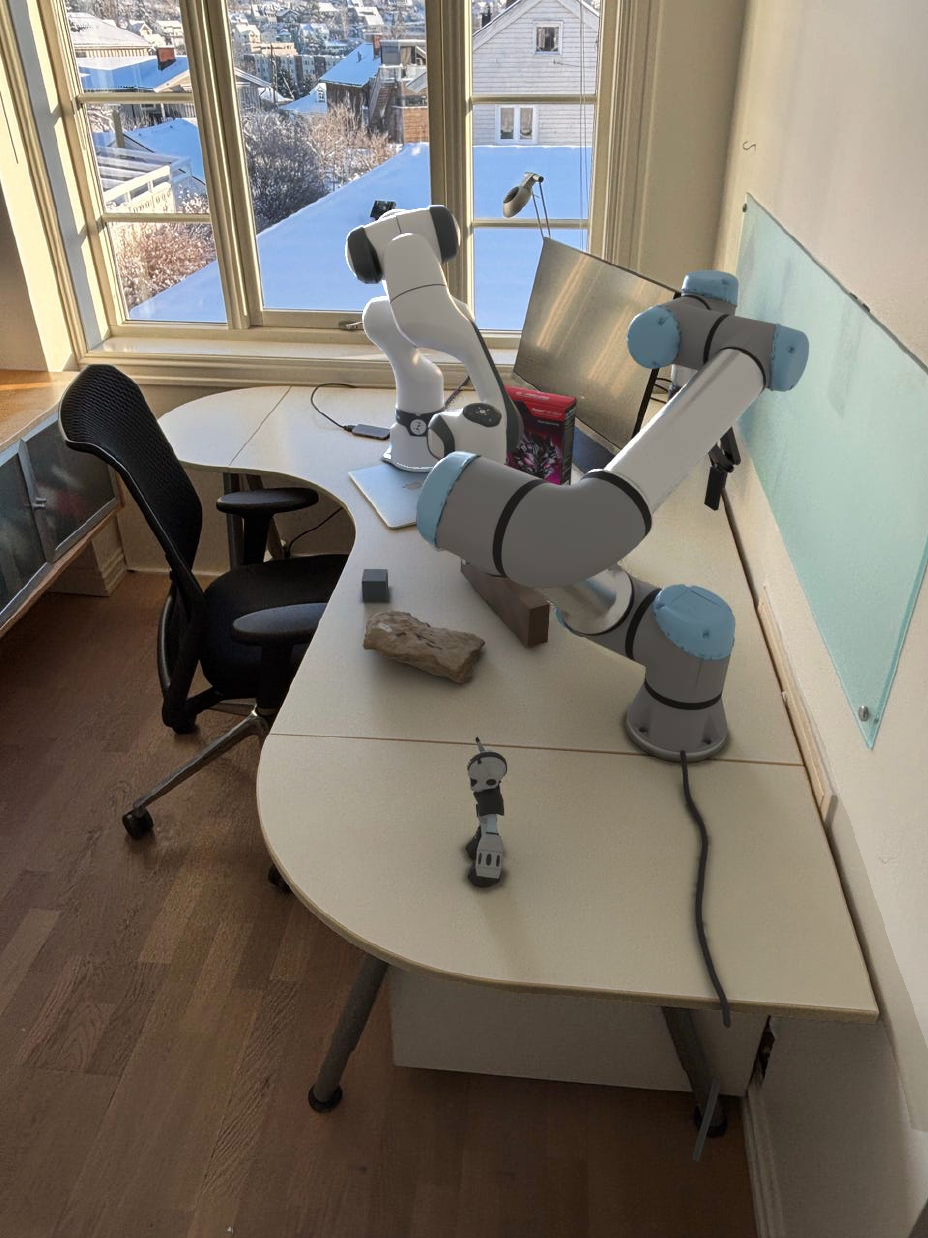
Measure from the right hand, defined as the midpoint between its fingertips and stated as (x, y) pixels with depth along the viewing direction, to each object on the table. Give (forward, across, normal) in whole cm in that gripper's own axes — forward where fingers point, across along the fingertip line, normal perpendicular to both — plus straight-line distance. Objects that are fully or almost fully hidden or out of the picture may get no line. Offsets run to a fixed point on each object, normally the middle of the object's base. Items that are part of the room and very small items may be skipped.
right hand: (676, 515), depth 146 cm
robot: (+27, +48, +30) cm, 63 cm away
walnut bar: (+26, +18, -23) cm, 39 cm away
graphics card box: (+27, -4, -54) cm, 61 cm away
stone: (+27, +38, -15) cm, 49 cm away
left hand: (+21, +19, -32) cm, 43 cm away
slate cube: (+27, +38, -37) cm, 59 cm away
